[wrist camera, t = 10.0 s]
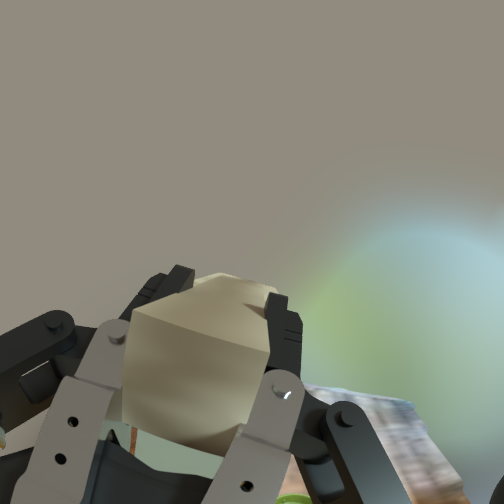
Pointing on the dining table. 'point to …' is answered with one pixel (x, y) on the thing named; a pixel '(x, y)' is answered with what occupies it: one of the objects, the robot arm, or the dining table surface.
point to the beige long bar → (197, 362)
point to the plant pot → (293, 499)
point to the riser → (174, 456)
